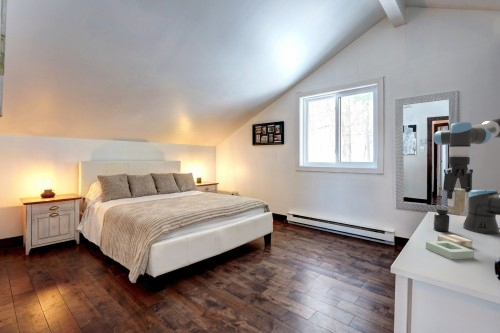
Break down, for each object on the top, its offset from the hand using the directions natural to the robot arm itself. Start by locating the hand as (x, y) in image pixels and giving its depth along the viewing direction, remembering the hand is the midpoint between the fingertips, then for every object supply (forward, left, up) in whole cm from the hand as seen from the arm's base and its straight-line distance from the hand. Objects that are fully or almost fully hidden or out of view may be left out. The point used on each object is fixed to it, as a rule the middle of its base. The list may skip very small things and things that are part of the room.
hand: (456, 205), depth 118 cm
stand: (0, 0, -18) cm, 18 cm away
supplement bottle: (-14, -20, -19) cm, 31 cm away
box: (0, 0, -3) cm, 3 cm away
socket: (+13, +9, -18) cm, 24 cm away
